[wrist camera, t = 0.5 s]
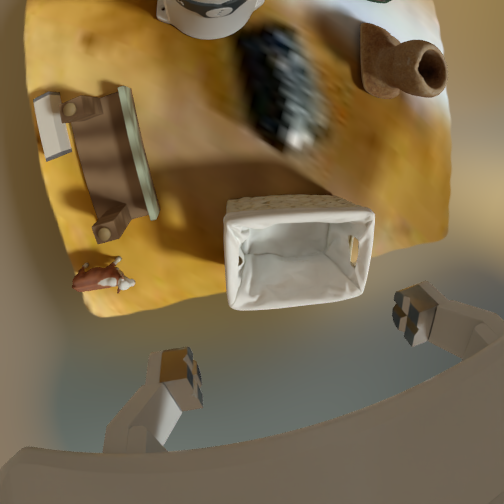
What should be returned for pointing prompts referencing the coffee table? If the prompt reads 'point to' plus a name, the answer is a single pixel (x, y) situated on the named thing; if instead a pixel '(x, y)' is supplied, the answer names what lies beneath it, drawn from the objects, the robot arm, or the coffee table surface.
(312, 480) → the robot arm
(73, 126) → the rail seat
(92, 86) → the coffee table surface
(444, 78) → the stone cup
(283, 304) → the storage basket
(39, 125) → the rail bar
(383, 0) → the coffee jar
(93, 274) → the bull figurine
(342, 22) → the coffee table surface
